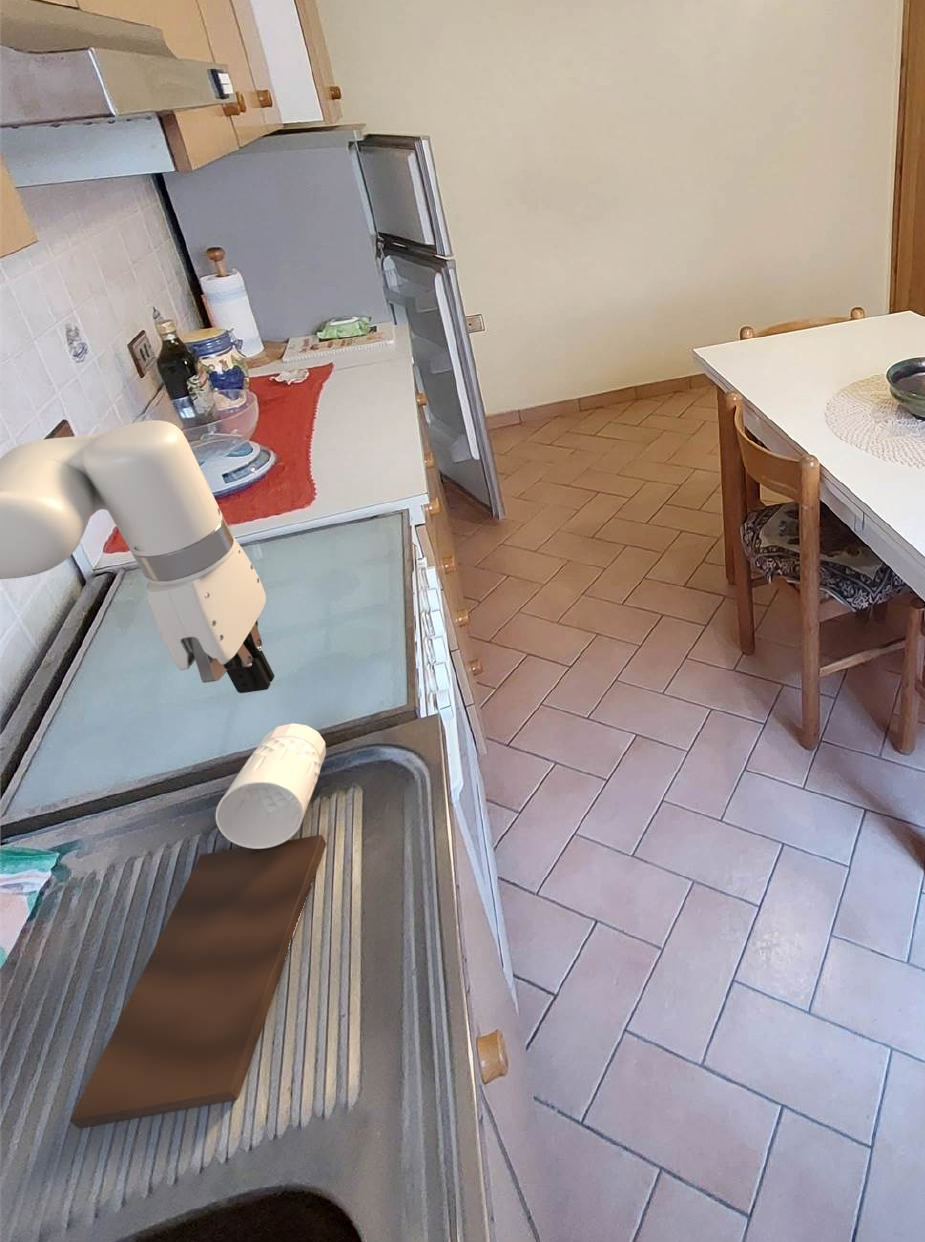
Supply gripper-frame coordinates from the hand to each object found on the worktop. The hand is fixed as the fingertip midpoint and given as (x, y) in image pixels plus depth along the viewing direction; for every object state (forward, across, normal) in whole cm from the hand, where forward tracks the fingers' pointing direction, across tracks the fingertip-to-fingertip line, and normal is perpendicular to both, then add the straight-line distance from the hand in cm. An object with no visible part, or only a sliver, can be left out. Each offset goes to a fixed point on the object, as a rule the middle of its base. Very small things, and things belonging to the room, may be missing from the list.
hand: (257, 685), depth 80 cm
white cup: (+10, 0, +1) cm, 10 cm away
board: (+13, +21, +1) cm, 25 cm away
